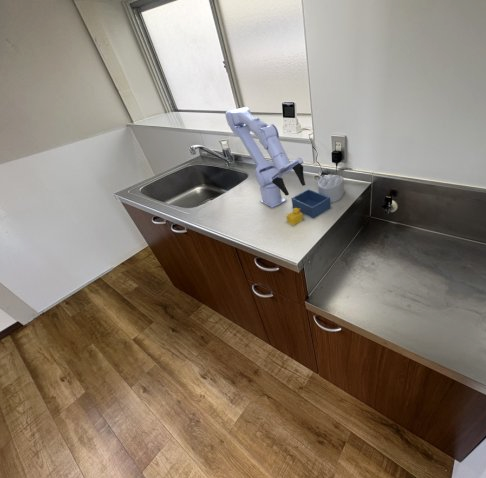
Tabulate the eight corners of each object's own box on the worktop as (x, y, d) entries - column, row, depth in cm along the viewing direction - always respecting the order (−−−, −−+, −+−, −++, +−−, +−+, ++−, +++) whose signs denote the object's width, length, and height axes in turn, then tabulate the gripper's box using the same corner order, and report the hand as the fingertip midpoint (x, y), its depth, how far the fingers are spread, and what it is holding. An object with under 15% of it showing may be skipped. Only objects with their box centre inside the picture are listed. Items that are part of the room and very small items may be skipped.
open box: (292, 208, 109) (291, 198, 106) (309, 198, 114) (308, 189, 111) (313, 218, 101) (312, 208, 98) (330, 208, 106) (330, 197, 103)
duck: (287, 222, 101) (285, 210, 98) (298, 215, 104) (296, 204, 101) (293, 225, 99) (291, 214, 95) (304, 219, 101) (302, 207, 98)
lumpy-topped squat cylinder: (346, 190, 116) (345, 173, 111) (335, 204, 107) (335, 186, 102) (325, 188, 121) (324, 171, 115) (314, 201, 112) (312, 183, 107)
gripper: (258, 166, 91) (275, 199, 92) (290, 145, 85) (308, 180, 86) (268, 167, 98) (283, 198, 98) (297, 147, 92) (314, 180, 92)
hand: (295, 190), depth 93 cm, fingers open, 7 cm apart
